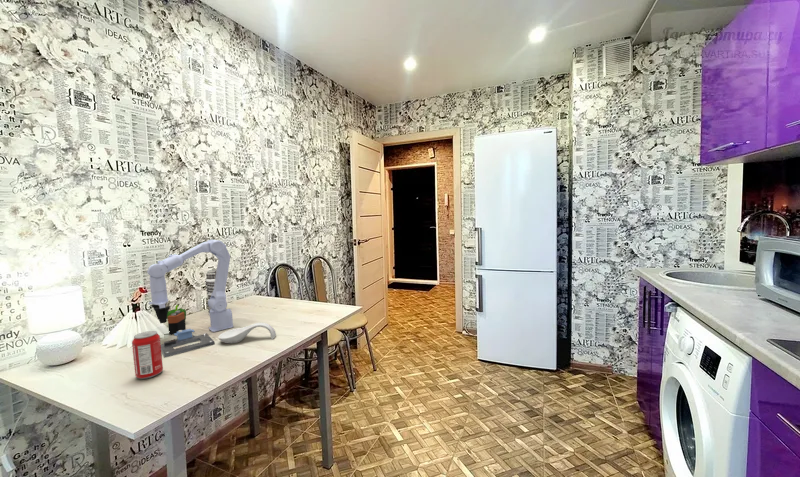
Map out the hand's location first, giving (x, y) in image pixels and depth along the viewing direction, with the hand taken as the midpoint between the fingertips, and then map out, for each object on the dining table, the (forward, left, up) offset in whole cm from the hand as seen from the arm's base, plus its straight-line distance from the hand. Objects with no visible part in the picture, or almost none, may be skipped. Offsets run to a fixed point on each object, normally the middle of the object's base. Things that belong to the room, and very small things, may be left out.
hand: (162, 320), depth 148 cm
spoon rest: (-28, +25, -10) cm, 39 cm away
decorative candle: (-29, -31, -10) cm, 43 cm away
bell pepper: (-9, -24, -10) cm, 27 cm away
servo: (-8, +1, -10) cm, 13 cm away
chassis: (-7, +13, -10) cm, 18 cm away
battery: (-7, -11, -10) cm, 16 cm away
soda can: (+8, +34, -10) cm, 37 cm away
